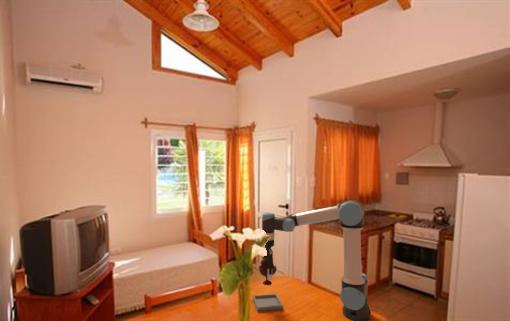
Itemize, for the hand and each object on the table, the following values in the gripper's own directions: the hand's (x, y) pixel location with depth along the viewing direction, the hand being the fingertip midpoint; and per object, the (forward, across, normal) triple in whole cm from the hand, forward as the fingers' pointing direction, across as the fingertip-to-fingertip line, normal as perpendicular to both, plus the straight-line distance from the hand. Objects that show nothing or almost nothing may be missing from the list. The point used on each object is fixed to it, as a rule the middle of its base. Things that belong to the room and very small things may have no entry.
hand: (267, 275), depth 164 cm
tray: (+17, 0, 0) cm, 17 cm away
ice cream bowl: (+5, 0, 0) cm, 5 cm away
